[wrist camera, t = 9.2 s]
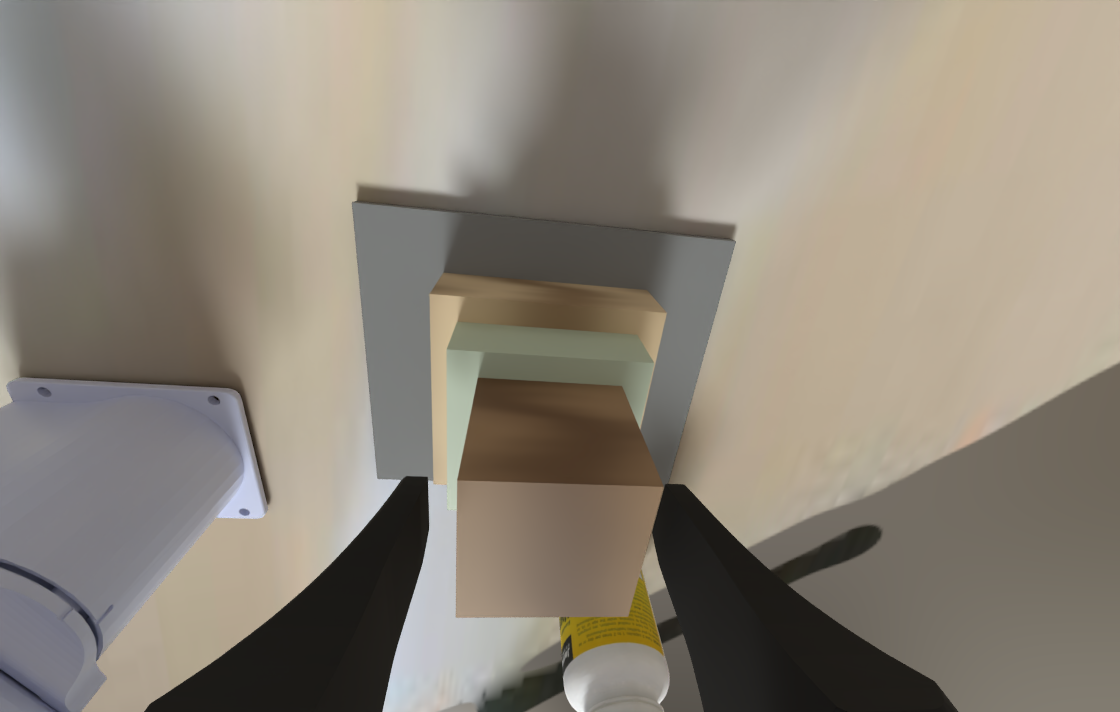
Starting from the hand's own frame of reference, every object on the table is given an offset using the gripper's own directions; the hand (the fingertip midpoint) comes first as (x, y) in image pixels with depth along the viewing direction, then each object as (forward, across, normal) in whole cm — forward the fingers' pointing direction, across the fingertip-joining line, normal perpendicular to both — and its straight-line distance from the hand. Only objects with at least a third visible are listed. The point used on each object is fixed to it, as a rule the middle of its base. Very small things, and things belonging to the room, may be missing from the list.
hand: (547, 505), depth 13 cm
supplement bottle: (+9, -5, +14) cm, 18 cm away
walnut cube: (+3, 0, 0) cm, 3 cm away
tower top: (+6, 0, 0) cm, 6 cm away
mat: (+9, 0, 0) cm, 9 cm away
